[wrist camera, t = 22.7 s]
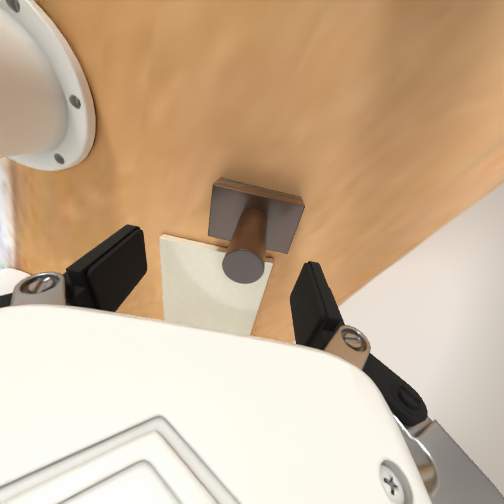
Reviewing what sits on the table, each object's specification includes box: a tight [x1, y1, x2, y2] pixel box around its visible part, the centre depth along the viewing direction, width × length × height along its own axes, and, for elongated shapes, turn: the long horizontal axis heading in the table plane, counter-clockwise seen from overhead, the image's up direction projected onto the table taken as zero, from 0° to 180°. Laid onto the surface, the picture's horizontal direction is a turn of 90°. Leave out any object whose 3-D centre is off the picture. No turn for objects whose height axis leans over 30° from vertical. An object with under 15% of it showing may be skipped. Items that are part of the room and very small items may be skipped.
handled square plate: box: [208, 178, 305, 284], centre depth 16 cm, size 8×5×10 cm, turn 78°
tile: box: [159, 234, 273, 335], centre depth 28 cm, size 13×20×1 cm, turn 168°
